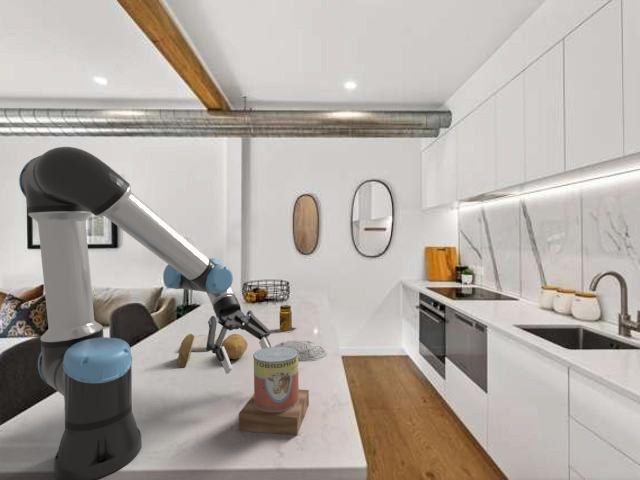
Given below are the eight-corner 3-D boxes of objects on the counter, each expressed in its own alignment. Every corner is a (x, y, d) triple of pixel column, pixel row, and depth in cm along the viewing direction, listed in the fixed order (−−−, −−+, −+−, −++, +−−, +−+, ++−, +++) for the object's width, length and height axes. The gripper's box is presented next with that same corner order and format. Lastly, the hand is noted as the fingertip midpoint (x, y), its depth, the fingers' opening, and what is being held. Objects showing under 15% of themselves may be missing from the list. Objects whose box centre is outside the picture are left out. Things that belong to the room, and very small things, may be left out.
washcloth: (220, 339, 153) (220, 332, 153) (210, 352, 135) (210, 345, 135) (193, 340, 152) (193, 333, 152) (180, 353, 134) (180, 346, 134)
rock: (190, 362, 116) (205, 349, 126) (175, 343, 117) (191, 331, 126) (170, 378, 119) (187, 364, 129) (155, 359, 119) (173, 346, 129)
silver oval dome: (331, 360, 123) (329, 341, 124) (262, 366, 121) (261, 347, 122) (327, 350, 138) (326, 334, 139) (266, 356, 136) (265, 339, 137)
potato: (218, 365, 120) (217, 343, 120) (223, 352, 133) (223, 332, 133) (245, 363, 121) (245, 341, 121) (248, 351, 135) (248, 331, 135)
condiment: (276, 331, 163) (276, 306, 163) (284, 327, 171) (283, 303, 171) (289, 332, 161) (289, 307, 161) (297, 328, 169) (296, 304, 169)
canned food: (256, 415, 77) (255, 363, 77) (252, 394, 88) (251, 348, 88) (303, 408, 81) (303, 358, 81) (293, 388, 91) (293, 344, 91)
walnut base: (297, 435, 76) (297, 417, 76) (239, 430, 78) (238, 413, 78) (308, 404, 90) (308, 390, 90) (259, 401, 92) (258, 387, 92)
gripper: (253, 304, 113) (280, 360, 103) (180, 314, 95) (203, 384, 85) (263, 291, 110) (291, 347, 99) (189, 299, 92) (214, 369, 81)
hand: (251, 364), depth 92 cm, fingers open, 13 cm apart
